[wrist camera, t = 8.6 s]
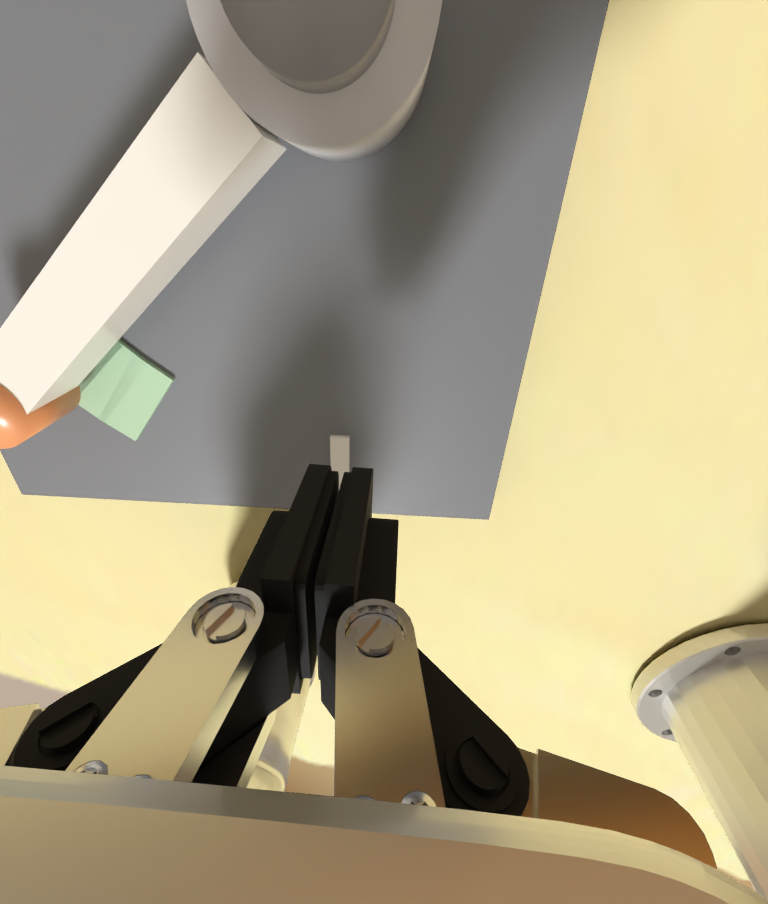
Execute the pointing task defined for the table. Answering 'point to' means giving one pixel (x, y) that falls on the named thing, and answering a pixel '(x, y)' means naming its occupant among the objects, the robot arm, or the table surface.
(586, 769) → the robot arm
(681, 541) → the table surface
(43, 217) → the dial board
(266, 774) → the plastic bottle
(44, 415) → the white bar with knob
